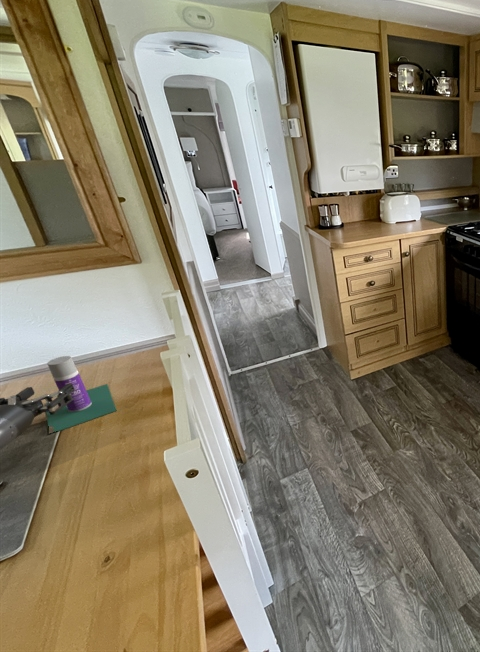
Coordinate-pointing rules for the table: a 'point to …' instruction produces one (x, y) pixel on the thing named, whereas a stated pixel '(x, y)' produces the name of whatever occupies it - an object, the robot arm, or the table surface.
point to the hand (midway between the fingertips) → (51, 388)
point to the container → (66, 374)
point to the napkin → (98, 408)
